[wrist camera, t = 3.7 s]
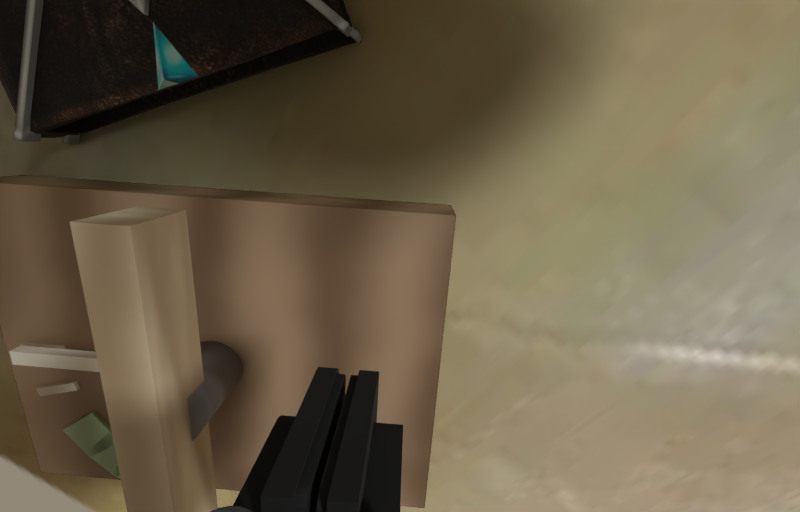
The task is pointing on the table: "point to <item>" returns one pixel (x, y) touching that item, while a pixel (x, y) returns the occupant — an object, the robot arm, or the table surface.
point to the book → (146, 53)
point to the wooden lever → (148, 356)
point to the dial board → (238, 311)
